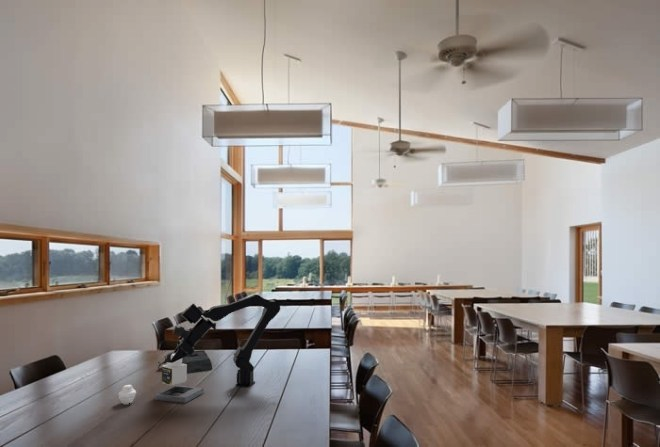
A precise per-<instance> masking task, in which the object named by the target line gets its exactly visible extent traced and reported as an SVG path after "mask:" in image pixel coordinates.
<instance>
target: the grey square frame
mask: <svg viewBox="0 0 660 447" xmlns="http://www.w3.org/2000/svg"><path fill="white" fill-rule="evenodd" d="M204 391H205V389H204V387H196V386H195V387H194V386H184V385H173V386H170V387H168V388H167V389H164V390H162V391H159V392H158V393H156V394H154V396H155V397H154V400H155V401H162V400H163V401H164V402H173V403H182V404H186V403H188V402H190V401H192V400H194V399H195V398H197V397H199V396H201V395H203V394H204V393H205V392H204ZM174 392H180V393H182V394H179V395H173V393H174ZM171 394H172V395H171ZM163 401H162V402H163Z"/></svg>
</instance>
